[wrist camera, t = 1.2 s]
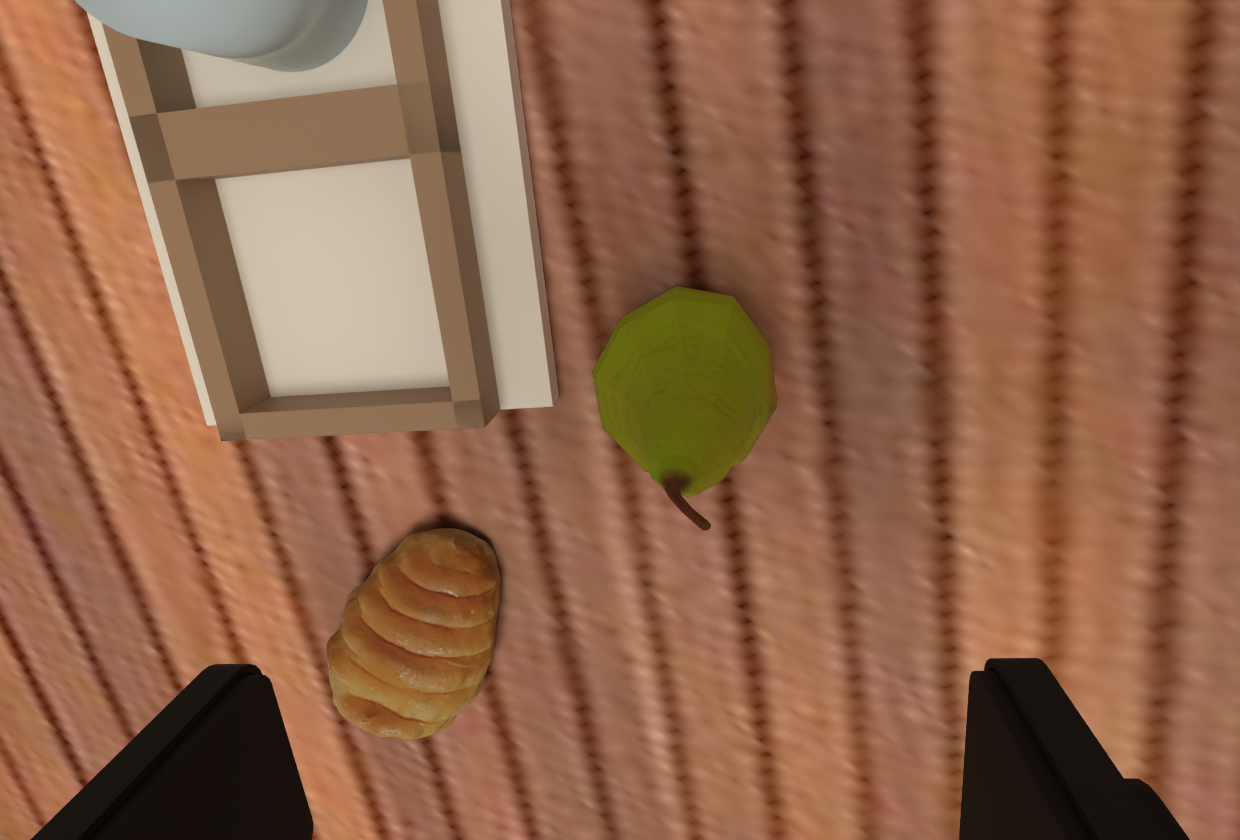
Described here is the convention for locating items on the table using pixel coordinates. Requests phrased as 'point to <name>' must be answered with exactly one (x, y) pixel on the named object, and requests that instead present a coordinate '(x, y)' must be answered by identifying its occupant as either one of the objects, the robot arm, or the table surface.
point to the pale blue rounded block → (240, 27)
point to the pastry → (417, 635)
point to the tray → (346, 224)
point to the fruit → (686, 389)
